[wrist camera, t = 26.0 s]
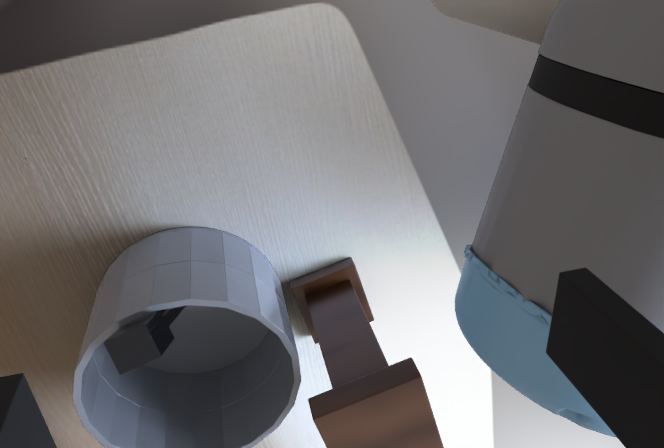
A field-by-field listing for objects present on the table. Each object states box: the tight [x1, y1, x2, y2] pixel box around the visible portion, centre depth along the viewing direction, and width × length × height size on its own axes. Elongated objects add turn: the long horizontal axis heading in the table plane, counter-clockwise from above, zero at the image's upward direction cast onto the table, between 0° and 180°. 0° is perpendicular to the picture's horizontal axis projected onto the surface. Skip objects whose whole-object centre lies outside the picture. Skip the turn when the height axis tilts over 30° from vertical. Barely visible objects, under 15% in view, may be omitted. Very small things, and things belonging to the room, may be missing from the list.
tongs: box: [104, 306, 186, 375], centre depth 45 cm, size 16×3×3 cm
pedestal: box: [289, 258, 444, 448], centre depth 49 cm, size 12×8×21 cm, turn 17°
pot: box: [72, 227, 301, 448], centre depth 50 cm, size 18×18×12 cm
